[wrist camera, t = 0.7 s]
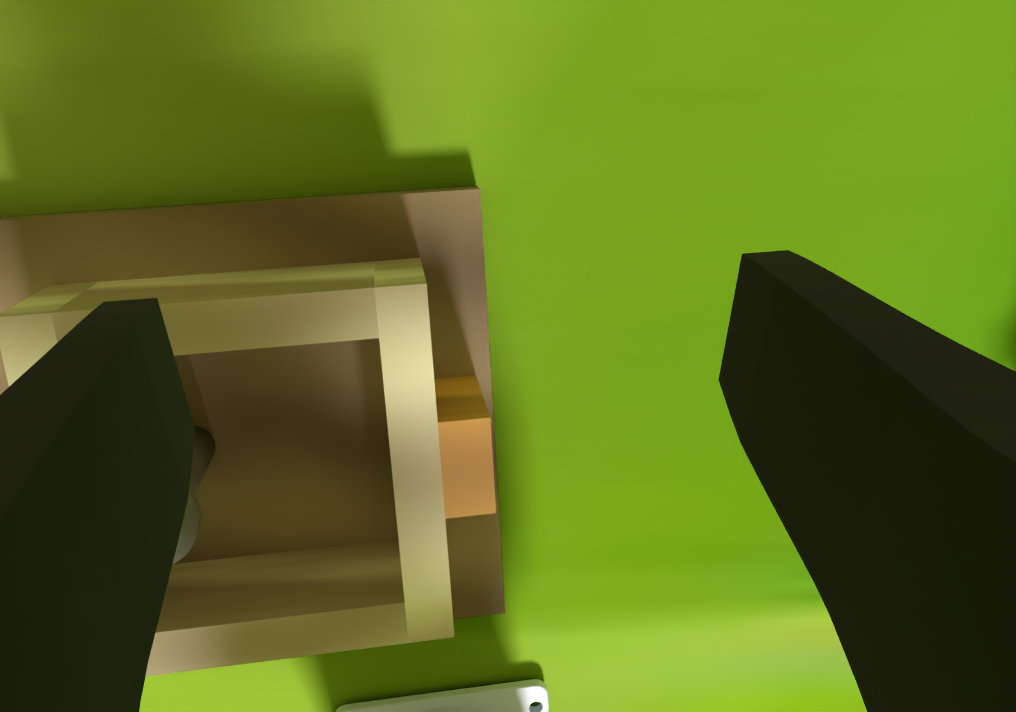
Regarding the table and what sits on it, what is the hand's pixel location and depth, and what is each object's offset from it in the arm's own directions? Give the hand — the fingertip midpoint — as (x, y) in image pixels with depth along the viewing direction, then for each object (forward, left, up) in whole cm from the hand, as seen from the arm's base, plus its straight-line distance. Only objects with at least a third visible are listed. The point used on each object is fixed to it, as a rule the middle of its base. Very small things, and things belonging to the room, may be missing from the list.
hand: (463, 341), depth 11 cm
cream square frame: (-7, +6, -17) cm, 19 cm away
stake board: (-7, +6, -18) cm, 20 cm away
